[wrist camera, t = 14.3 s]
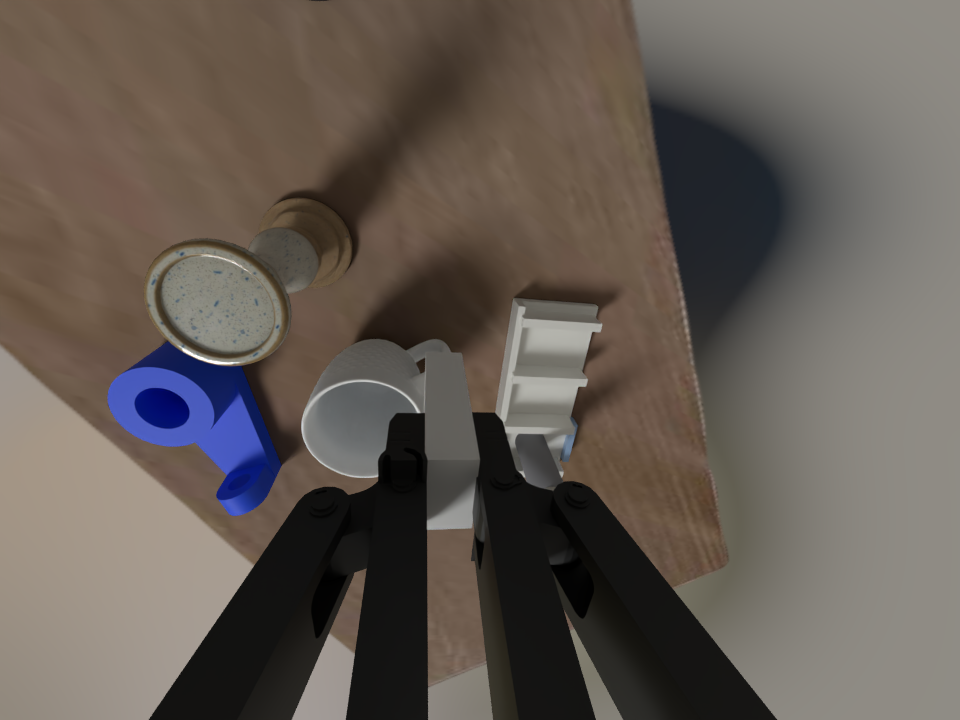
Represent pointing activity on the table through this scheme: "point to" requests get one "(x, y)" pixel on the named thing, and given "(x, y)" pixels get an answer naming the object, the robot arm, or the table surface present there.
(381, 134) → the table surface
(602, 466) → the table surface
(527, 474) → the two-tone capped cylinder
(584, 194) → the table surface
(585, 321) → the white compartment tray
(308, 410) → the mug
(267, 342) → the candle holder
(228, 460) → the bracket
